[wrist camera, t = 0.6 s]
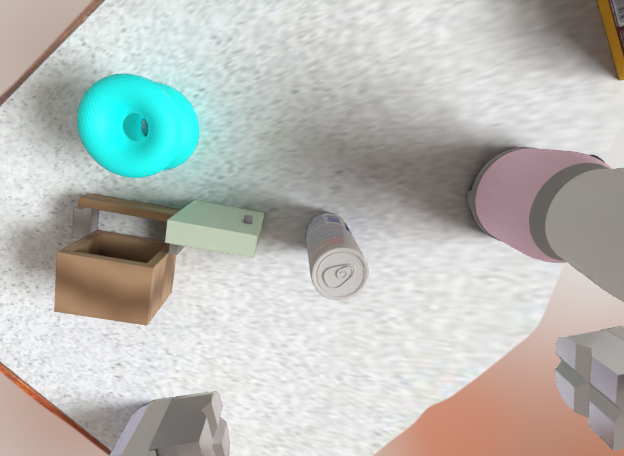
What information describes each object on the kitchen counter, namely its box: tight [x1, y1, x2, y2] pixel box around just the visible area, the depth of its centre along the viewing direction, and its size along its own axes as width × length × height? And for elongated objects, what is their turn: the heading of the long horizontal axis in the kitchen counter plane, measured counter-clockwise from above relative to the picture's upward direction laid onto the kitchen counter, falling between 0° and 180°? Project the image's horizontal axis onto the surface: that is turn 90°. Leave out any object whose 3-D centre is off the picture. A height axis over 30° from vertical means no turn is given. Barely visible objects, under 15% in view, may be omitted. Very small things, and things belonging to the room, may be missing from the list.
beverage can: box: [306, 213, 369, 300], centre depth 43 cm, size 6×6×15 cm
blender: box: [467, 147, 624, 302], centre depth 35 cm, size 16×12×32 cm
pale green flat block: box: [165, 200, 265, 258], centre depth 44 cm, size 3×9×11 cm, turn 79°
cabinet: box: [54, 194, 185, 325], centre depth 46 cm, size 12×12×9 cm
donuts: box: [77, 74, 199, 178], centre depth 42 cm, size 10×10×10 cm
